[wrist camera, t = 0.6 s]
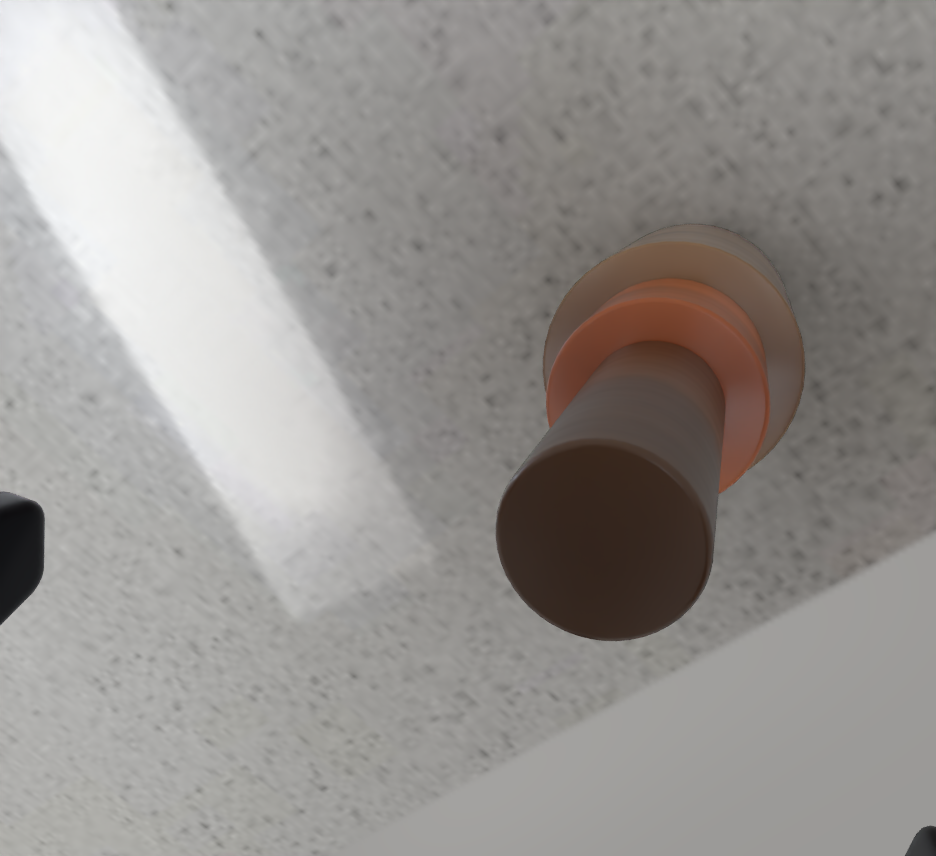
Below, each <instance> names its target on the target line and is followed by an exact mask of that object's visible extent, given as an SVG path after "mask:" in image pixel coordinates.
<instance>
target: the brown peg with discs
mask: <svg viewBox="0 0 936 856" xmlns="http://www.w3.org/2000/svg"><path fill="white" fill-rule="evenodd" d="M770 408H771V406H770V390H769V381H768V373H767V364H766V357H765V352H764V347H763V344H762V341H761V338H760V336H759V333H758V332H757V330H756V328H755V326H754V324H753V322H752V321H751V320H750V318H749V317H748V315H747V314H746V313H745V312H744V311H743V310H742V309H741V307H740V306H739V305H738V304H737V303H735V302H734V301H733V300H732V299H730V298H729V297H728V296H726V295H725V294H723V293H721V292H720V291H718V290H716V289H714V288H712V287H710V286H707V285H705V284H702V283H699V282H695V281H692V280H685V279H674V278H664V279H655V280H650V281H646V282H642V283H639V284H636V285H634V286H631V287H628V288H627V289H625V290H623V291H621V292H619V293H618V294H616V295H615V296H613V297H612V298H611V299H609V300H608V301H607V302H606V303H604V304H603V305H602V306H601V307H600V308H599V309H598V310H597V311H596V312H595V313H593V314H592V315H591V316H590V317H589V318H588V319H587V320H586V321H585V322H583V323H582V324H581V325H580V326H579V327H578V328H577V329H576V330H575V331H574V332H573V333H572V334H571V336H570V337H569V338H568V339H567V341H566V342H565V343H564V345H563V346H562V348H561V350H560V351H559V353H558V355H557V357H556V359H555V361H554V364H553V366H552V369H551V372H550V376H549V379H548V385H547V392H546V410H547V418H548V423H549V427H550V429H549V431H548V432H547V433H546V435H545V436H544V437H543V438H542V440H541V441H540V442H539V444H538V445H537V446H536V447H535V449H534V450H533V451H532V453H531V454H530V455H529V457H528V458H527V459H526V460H525V462H524V463H523V464H522V466H521V467H520V468H519V469H518V471H517V472H516V473H515V475H514V476H513V477H512V479H511V480H510V482H509V484H508V485H507V487H506V489H505V491H504V493H503V495H502V498H501V500H500V504H499V507H498V511H497V518H496V543H497V550H498V553H499V557H500V561H501V564H502V566H503V569H504V571H505V573H506V576H507V578H508V579H509V581H510V583H511V585H512V586H513V588H514V589H515V591H516V592H517V593H518V595H519V596H520V597H521V599H522V600H523V601H524V602H525V603H526V604H527V605H528V606H529V607H530V608H531V609H532V610H533V611H535V612H536V613H537V614H538V615H539V616H540V617H542V618H543V619H545V620H546V621H548V622H549V623H551V624H553V625H555V626H556V627H558V628H560V629H562V630H564V631H567V632H569V633H572V634H575V635H578V636H581V637H585V638H589V639H595V640H602V641H622V640H631V639H636V638H640V637H644V636H647V635H650V634H653V633H656V632H658V631H660V630H662V629H664V628H665V627H667V626H669V625H671V624H672V623H674V622H675V621H677V620H678V619H679V618H681V617H682V616H683V615H684V614H685V613H686V612H687V611H688V610H689V609H690V608H691V607H692V606H693V604H694V603H695V602H696V601H697V599H698V598H699V596H700V595H701V593H702V591H703V589H704V588H705V586H706V583H707V580H708V578H709V575H710V572H711V567H712V563H713V554H714V542H715V530H716V518H717V506H718V494H720V493H722V492H723V491H725V490H726V489H727V488H729V487H730V486H731V485H733V484H734V483H735V482H736V481H737V480H738V479H739V478H740V477H741V476H742V475H743V474H744V473H745V472H746V471H747V469H748V468H749V467H750V466H751V464H752V463H753V462H754V460H755V458H756V456H757V455H758V453H759V451H760V449H761V447H762V444H763V442H764V439H765V437H766V433H767V429H768V425H769V419H770Z"/></svg>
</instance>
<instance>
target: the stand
mask: <svg viewBox="0 0 936 856" xmlns="http://www.w3.org/2000/svg"><path fill="white" fill-rule="evenodd" d="M664 278H674V279H685V280H692V281H695V282H699V283H702V284H705V285H707V286H710V287H712V288H714V289H716V290H718V291H720V292H721V293H723V294H725V295H726V296H728V297H729V298H730V299H732V300H733V301H734V302H735V303H737V304H738V305H739V306H740V307H741V309H742V310H743V311H744V312H745V313H746V314H747V315H748V317H749V318H750V320H751V321H752V322H753V324H754V326H755V328H756V330H757V332H758V333H759V336H760V338H761V341H762V344H763V347H764V352H765V357H766V364H767V373H768V381H769V390H770V406H771V408H770V419H769V425H768V429H767V433H766V437H765V439H764V442H763V444H762V447H761V449H760V451H759V453H758V455H757V456H756V458H755V460H754V462H753V463H752V464H751V466H750V467H749V468H748V469H747V470H749V469H750V468H751V467H753V466H754V465H755V464H757V463H758V462H759V461H761V460H762V459H763V458H764V457H765V456H766V455H767V454H768V453H769V452H770V451H771V450H772V449H773V448H774V447H775V446H776V444H777V443H778V442H779V441H780V439H781V438H782V437H783V435H784V434H785V432H786V431H787V429H788V427H789V425H790V424H791V422H792V420H793V418H794V416H795V413H796V411H797V408H798V406H799V403H800V399H801V395H802V391H803V387H804V377H805V354H804V347H803V342H802V337H801V333H800V330H799V327H798V325H797V322H796V319H795V316H794V313H793V310H792V307H791V305H790V302H789V299H788V296H787V293H786V290H785V288H784V285H783V282H782V280H781V278H780V276H779V274H778V272H777V270H776V269H775V267H774V266H773V264H772V263H771V261H770V260H769V259H768V258H767V257H766V256H765V255H764V253H763V252H762V251H761V250H760V249H758V248H757V247H756V246H755V245H753V244H752V243H751V242H750V241H748V240H746V239H745V238H743V237H741V236H740V235H738V234H736V233H733V232H731V231H729V230H726V229H723V228H719V227H715V226H710V225H703V224H684V225H676V226H671V227H667V228H663V229H660V230H657V231H655V232H652V233H650V234H648V235H646V236H644V237H642V238H641V239H639V240H637V241H635V242H634V243H632V244H630V245H629V246H627V247H625V248H624V249H622V250H620V251H619V252H617V253H615V254H613V255H612V256H610V257H608V258H607V259H605V260H603V261H602V262H600V263H599V264H597V265H596V266H595V267H593V268H592V269H591V270H589V271H588V272H587V273H586V274H585V275H584V276H583V277H582V278H581V279H579V280H578V281H577V282H576V283H575V284H574V286H573V287H572V288H571V289H570V291H569V292H568V293H567V295H566V296H565V297H564V299H563V300H562V302H561V304H560V305H559V307H558V309H557V310H556V312H555V315H554V317H553V319H552V322H551V324H550V327H549V330H548V334H547V337H546V341H545V347H544V354H543V378H544V386H545V391H546V392H547V385H548V379H549V376H550V372H551V369H552V366H553V364H554V361H555V359H556V357H557V355H558V353H559V351H560V350H561V348H562V346H563V345H564V343H565V342H566V341H567V339H568V338H569V337H570V336H571V334H572V333H573V332H574V331H575V330H576V329H577V328H578V327H579V326H580V325H581V324H582V323H583V322H585V321H586V320H587V319H588V318H589V317H590V316H591V315H592V314H593V313H595V312H596V311H597V310H598V309H599V308H600V307H601V306H602V305H603V304H604V303H606V302H607V301H608V300H609V299H611V298H612V297H613V296H615V295H616V294H618V293H619V292H621V291H623V290H625V289H627V288H628V287H631V286H634V285H636V284H639V283H642V282H646V281H650V280H655V279H664Z"/></svg>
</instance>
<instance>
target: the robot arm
mask: <svg viewBox="0 0 936 856" xmlns="http://www.w3.org/2000/svg"><path fill="white" fill-rule="evenodd" d="M44 530H45V517H44V512H43V510H42V507H41V506H40V505H39V504H38V503H37V502H35V501H32V500H30V499H27V498H24V497H21V496H19V495H16V494H13V493H10V492H0V625H1V624H2V623H3V622H4V621H5V620H6V619H7V618H8V617H9V616H10V615H11V614H12V613H13V612H14V611H15V610H16V609H17V608H18V607H19V606H20V605H21V604H22V603H23V602H24V601H25V600H26V599H27V598H28V597H29V596H30V595H31V594H32V593H33V592H34V590H35V589H36V587H37V586H38V584H39V582H40V580H41V578H42V575H43V571H44ZM905 856H936V827H934V826H927V827H924V828H922V829H921V830H920V831H919V832H918V833H917V834H916V836H915V837H914V839H913V841H912V843H911V845H910V847H909V849H908V851H907V853H906V855H905Z"/></svg>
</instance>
